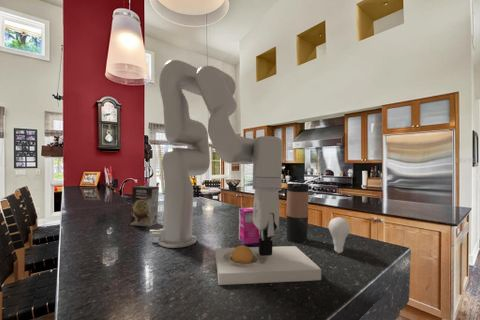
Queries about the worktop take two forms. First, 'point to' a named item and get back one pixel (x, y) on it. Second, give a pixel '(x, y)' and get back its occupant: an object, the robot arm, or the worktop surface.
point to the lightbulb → (339, 232)
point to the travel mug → (297, 212)
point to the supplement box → (247, 227)
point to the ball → (242, 255)
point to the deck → (266, 267)
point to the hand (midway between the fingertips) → (265, 254)
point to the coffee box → (144, 205)
